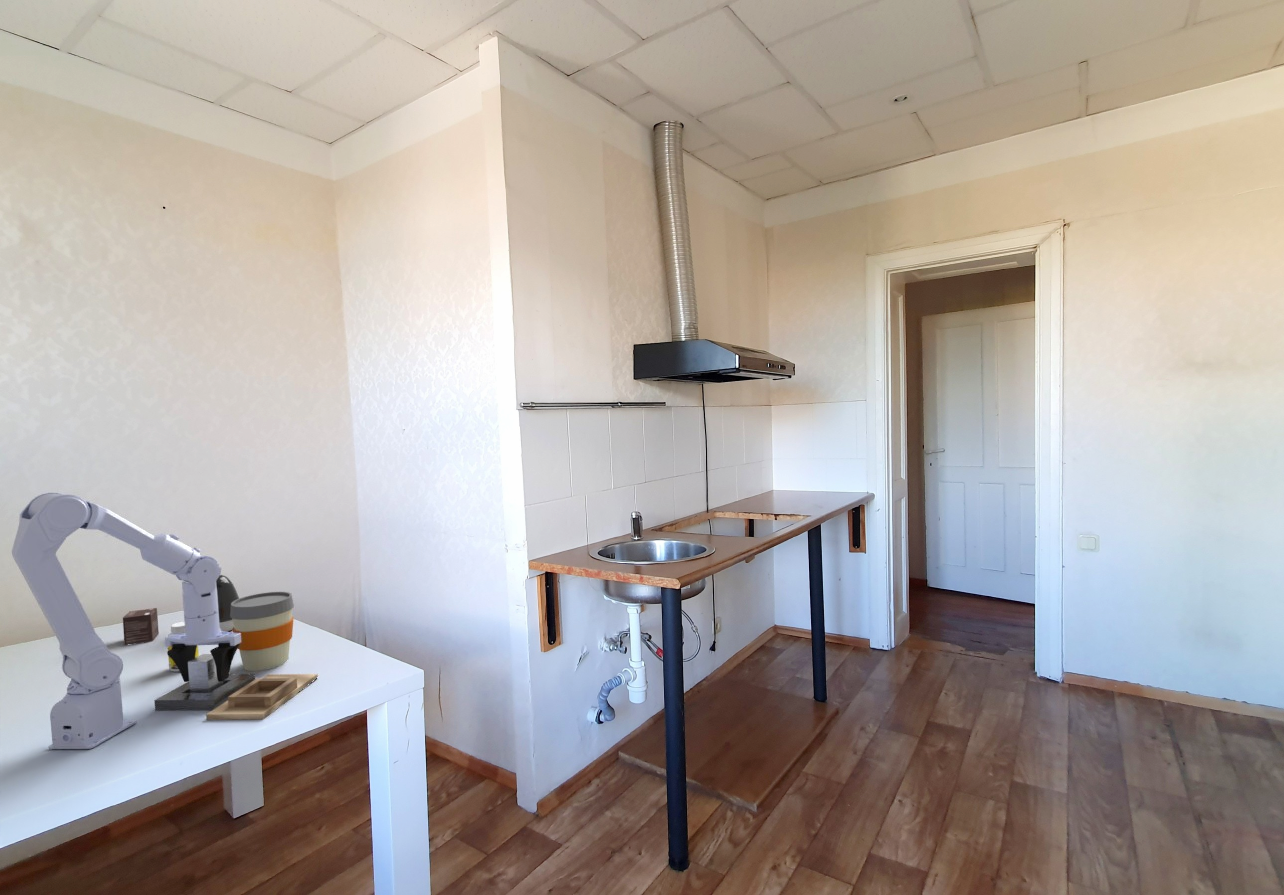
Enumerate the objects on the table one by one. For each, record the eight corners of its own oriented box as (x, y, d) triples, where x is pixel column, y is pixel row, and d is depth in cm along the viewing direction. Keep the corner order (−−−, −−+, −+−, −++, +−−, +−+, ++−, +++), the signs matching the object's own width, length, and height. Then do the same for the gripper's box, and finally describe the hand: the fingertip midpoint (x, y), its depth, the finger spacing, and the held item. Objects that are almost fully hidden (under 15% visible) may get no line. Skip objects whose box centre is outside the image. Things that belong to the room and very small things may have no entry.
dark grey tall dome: (201, 640, 162) (197, 582, 161) (195, 631, 170) (191, 575, 169) (247, 630, 169) (243, 574, 168) (239, 621, 177) (235, 568, 176)
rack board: (263, 719, 117) (262, 703, 117) (206, 719, 118) (205, 703, 118) (317, 678, 135) (317, 664, 135) (268, 679, 136) (267, 665, 136)
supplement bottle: (168, 674, 140) (165, 629, 140) (170, 666, 145) (167, 623, 144) (199, 668, 143) (195, 624, 143) (200, 661, 148) (196, 618, 147)
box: (131, 638, 166) (129, 611, 165) (159, 634, 168) (157, 607, 168) (123, 645, 160) (121, 617, 160) (153, 641, 163) (150, 613, 162)
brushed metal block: (209, 700, 126) (206, 661, 126) (190, 700, 126) (187, 661, 126) (224, 691, 130) (221, 653, 130) (205, 692, 130) (202, 654, 130)
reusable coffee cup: (308, 658, 147) (304, 594, 146) (252, 678, 136) (248, 610, 136) (278, 649, 154) (274, 588, 153) (222, 668, 143) (218, 603, 142)
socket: (214, 709, 122) (213, 699, 122) (155, 710, 122) (154, 700, 122) (255, 683, 134) (254, 673, 134) (201, 683, 134) (200, 674, 134)
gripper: (249, 607, 131) (253, 671, 132) (182, 608, 132) (187, 672, 132) (225, 618, 124) (230, 685, 124) (154, 619, 125) (160, 686, 125)
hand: (206, 679), depth 128 cm, fingers open, 7 cm apart
